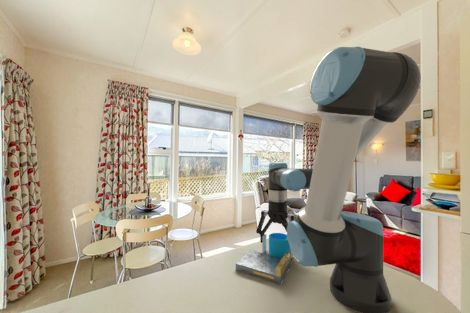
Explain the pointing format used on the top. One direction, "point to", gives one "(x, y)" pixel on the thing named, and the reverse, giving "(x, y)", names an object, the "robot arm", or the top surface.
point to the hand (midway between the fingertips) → (277, 253)
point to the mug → (278, 244)
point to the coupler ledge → (264, 266)
